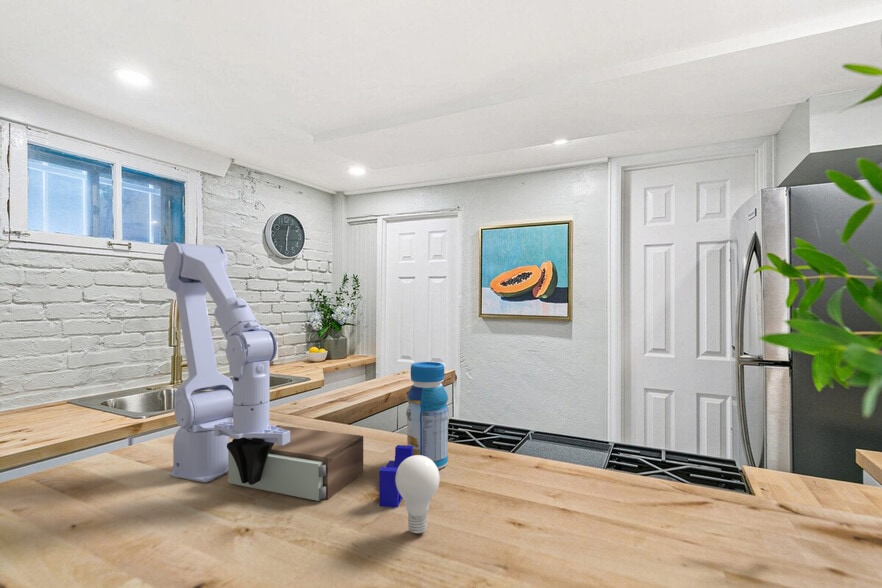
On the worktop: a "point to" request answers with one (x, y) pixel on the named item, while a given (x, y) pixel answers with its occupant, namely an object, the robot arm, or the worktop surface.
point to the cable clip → (392, 478)
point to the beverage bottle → (428, 413)
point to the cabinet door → (286, 476)
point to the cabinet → (326, 454)
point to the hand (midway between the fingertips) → (251, 481)
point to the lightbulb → (417, 489)
